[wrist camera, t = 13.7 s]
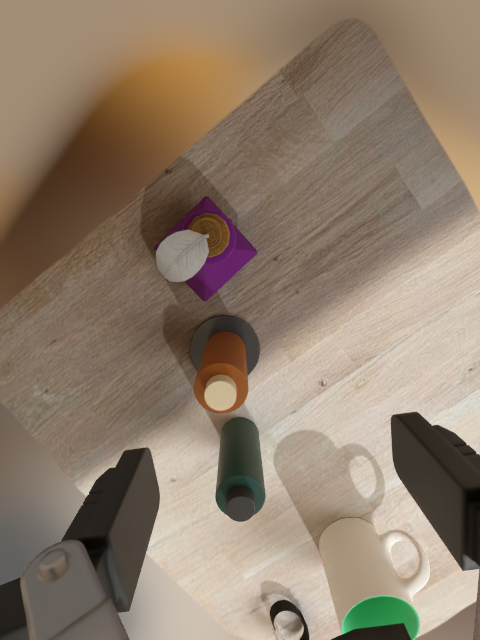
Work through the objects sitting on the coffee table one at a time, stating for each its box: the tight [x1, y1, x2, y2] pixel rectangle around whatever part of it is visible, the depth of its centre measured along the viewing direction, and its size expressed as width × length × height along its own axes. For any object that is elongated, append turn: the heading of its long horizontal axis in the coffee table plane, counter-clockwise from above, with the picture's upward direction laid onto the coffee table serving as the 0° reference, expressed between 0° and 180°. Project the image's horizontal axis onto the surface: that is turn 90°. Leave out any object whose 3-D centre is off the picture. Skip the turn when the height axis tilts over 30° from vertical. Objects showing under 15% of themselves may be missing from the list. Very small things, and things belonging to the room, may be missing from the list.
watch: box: [270, 600, 309, 640], centre depth 47 cm, size 8×5×4 cm, turn 26°
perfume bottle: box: [154, 196, 257, 301], centre depth 30 cm, size 8×8×18 cm
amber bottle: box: [194, 331, 248, 413], centre depth 34 cm, size 5×5×12 cm
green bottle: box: [216, 418, 265, 522], centre depth 37 cm, size 5×5×12 cm
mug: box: [319, 518, 430, 640], centre depth 41 cm, size 12×8×10 cm
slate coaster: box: [190, 316, 260, 375], centre depth 41 cm, size 8×8×1 cm
